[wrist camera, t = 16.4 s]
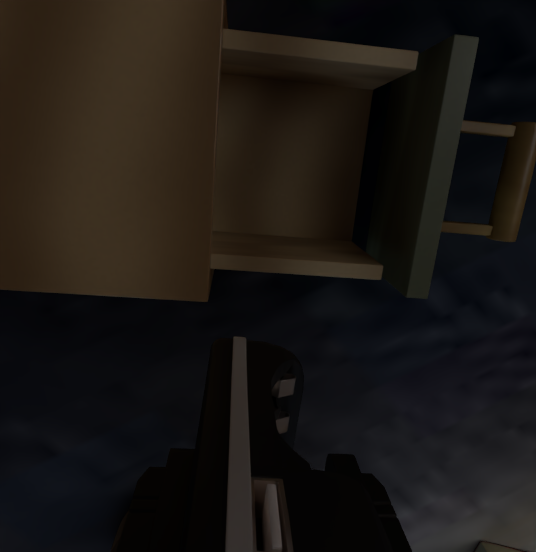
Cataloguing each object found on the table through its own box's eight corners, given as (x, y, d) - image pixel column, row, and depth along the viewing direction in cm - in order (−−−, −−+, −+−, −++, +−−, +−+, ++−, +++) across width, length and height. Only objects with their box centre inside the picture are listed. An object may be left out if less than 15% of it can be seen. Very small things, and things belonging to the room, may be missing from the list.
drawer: (501, 79, 28) (601, 52, 20) (460, 268, 31) (533, 305, 23) (160, 41, 26) (128, -6, 18) (156, 247, 29) (128, 280, 21)
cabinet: (229, 41, 27) (224, -19, 17) (216, 256, 30) (207, 302, 21) (-57, 9, 25) (-231, -77, 16) (-33, 239, 29) (-164, 280, 20)
